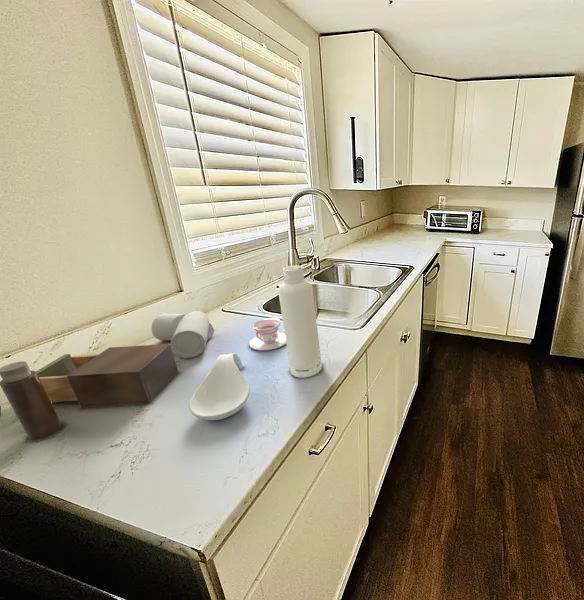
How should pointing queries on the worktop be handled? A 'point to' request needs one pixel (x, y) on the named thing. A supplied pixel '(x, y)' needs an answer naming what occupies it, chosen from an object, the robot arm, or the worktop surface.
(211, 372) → the spoon rest
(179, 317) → the l-shaped cylinder
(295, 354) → the bottle
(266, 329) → the teacup
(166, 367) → the cabinet
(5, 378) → the pepper mill
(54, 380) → the drawer
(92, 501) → the worktop surface
